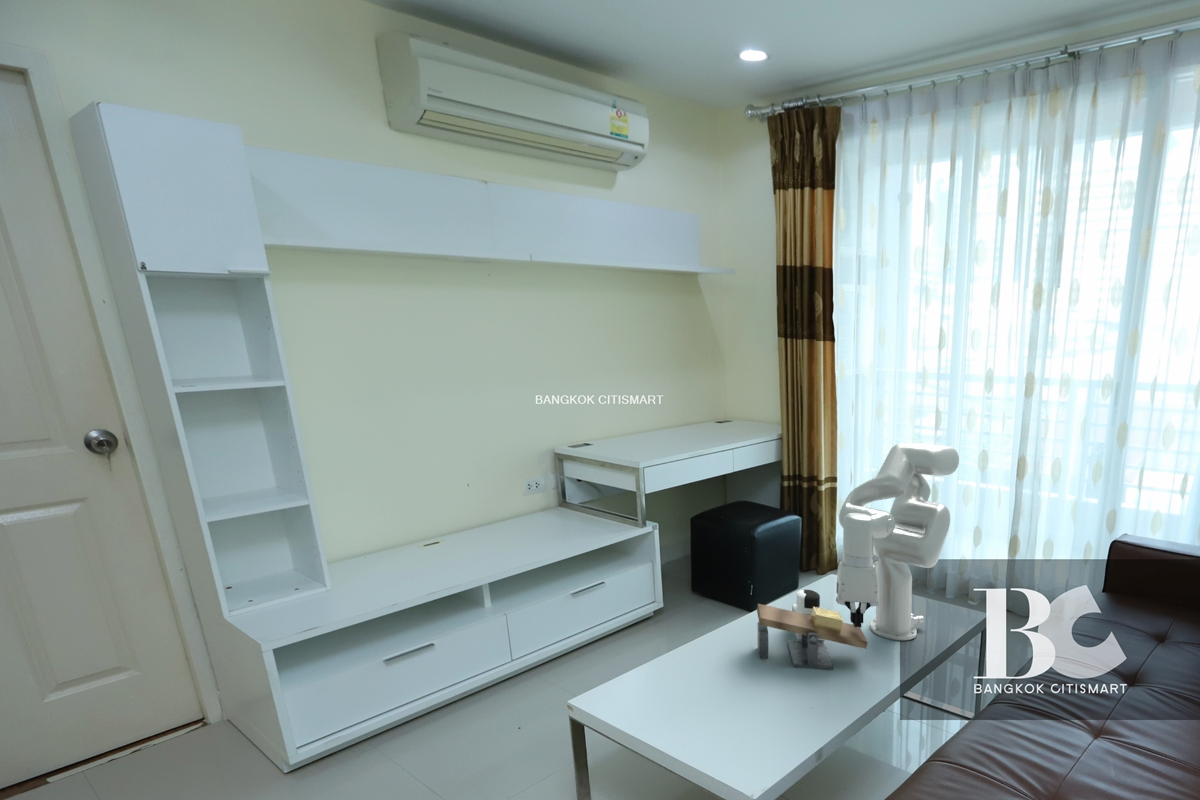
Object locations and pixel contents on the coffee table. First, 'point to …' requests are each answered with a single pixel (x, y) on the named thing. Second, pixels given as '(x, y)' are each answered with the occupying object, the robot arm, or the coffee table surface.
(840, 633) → the beam
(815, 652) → the stand
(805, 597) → the container
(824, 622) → the slider
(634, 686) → the coffee table surface
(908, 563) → the robot arm
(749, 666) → the coffee table surface
